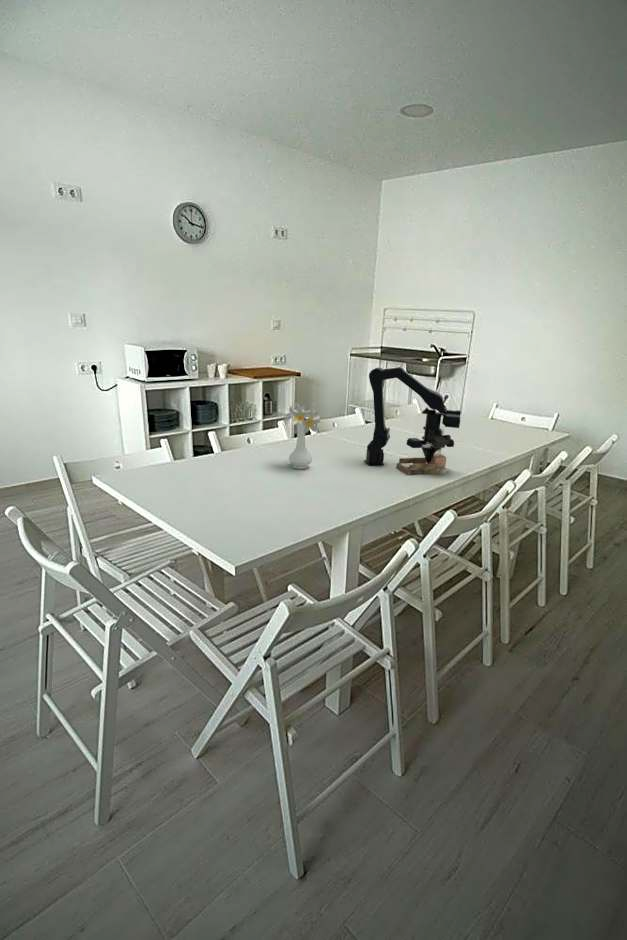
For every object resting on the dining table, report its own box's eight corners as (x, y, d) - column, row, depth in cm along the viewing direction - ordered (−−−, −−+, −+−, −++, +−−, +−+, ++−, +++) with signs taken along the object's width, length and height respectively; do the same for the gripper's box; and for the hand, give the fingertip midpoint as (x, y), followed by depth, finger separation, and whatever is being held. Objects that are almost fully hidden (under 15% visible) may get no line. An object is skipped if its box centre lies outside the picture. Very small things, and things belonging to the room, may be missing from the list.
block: (434, 467, 196) (435, 457, 195) (428, 463, 201) (429, 454, 200) (445, 466, 198) (446, 457, 196) (438, 463, 202) (440, 453, 201)
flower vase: (300, 476, 184) (302, 410, 176) (276, 463, 198) (277, 402, 190) (328, 471, 190) (331, 408, 183) (303, 459, 205) (305, 400, 197)
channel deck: (407, 475, 191) (408, 465, 190) (396, 467, 200) (397, 458, 199) (446, 473, 196) (447, 463, 195) (433, 465, 205) (434, 456, 204)
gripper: (421, 430, 183) (417, 469, 188) (464, 429, 188) (458, 467, 193) (408, 424, 193) (403, 461, 198) (448, 423, 198) (444, 460, 203)
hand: (427, 462), depth 198 cm, fingers closed
